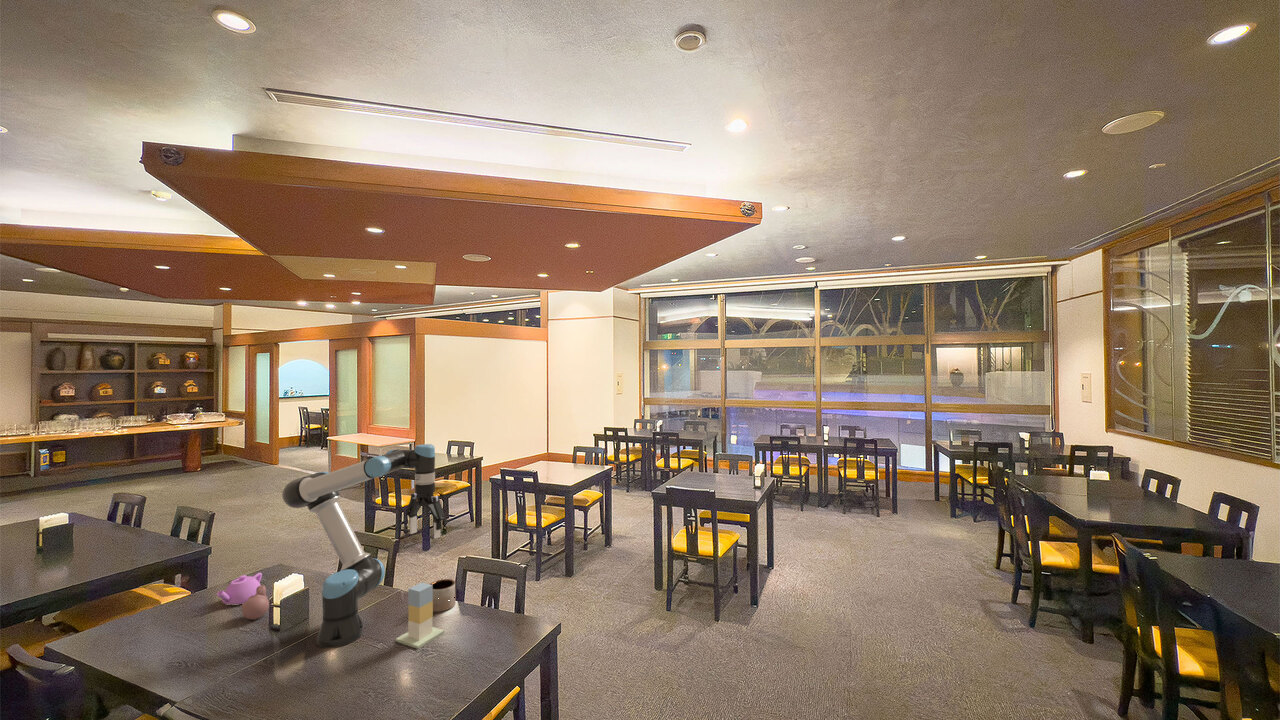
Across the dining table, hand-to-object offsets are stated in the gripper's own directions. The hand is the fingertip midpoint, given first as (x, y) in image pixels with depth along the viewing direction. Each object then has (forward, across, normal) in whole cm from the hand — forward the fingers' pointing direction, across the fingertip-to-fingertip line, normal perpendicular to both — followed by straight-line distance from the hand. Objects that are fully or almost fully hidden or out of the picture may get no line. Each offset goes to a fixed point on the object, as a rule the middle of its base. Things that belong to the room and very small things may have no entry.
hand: (425, 535), depth 198 cm
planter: (+35, -4, +12) cm, 37 cm away
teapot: (+35, -91, -22) cm, 100 cm away
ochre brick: (+28, +8, -9) cm, 30 cm away
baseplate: (+35, +8, -9) cm, 37 cm away
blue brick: (+22, +8, -9) cm, 25 cm away
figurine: (+35, -68, -28) cm, 81 cm away
